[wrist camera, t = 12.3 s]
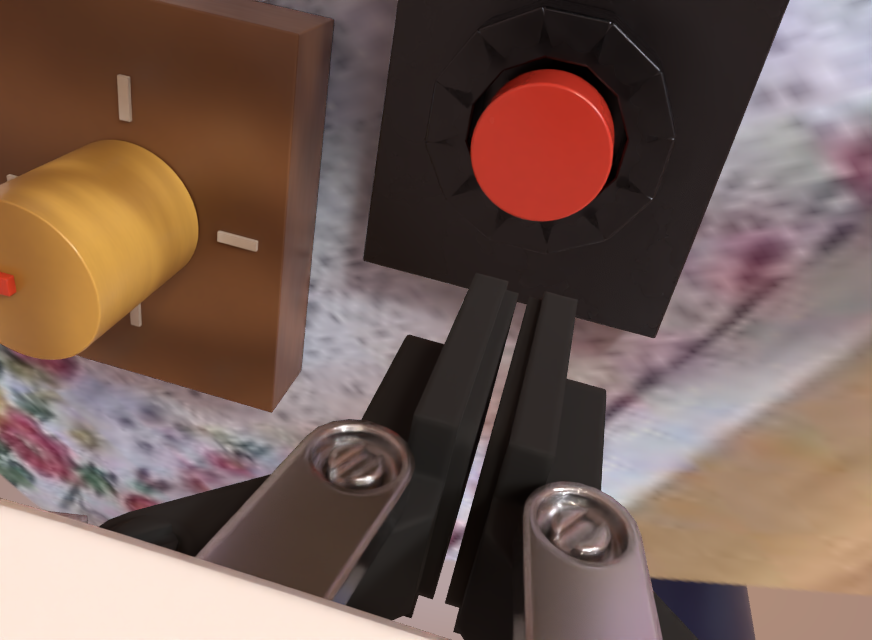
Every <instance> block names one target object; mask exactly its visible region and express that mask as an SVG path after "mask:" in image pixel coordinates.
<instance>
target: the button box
mask: <svg viewBox="0 0 872 640" xmlns="http://www.w3.org/2000/svg"><path fill="white" fill-rule="evenodd" d="M788 3H789V0H398V5H397V12H396V20H395V27H394V34H393V42H392V49H391V56H390V64H389V71H388V79H387V86H386V93H385V101H384V108H383V116H382V123H381V130H380V138H379V145H378V152H377V160H376V167H375V175H374V182H373V189H372V197H371V204H370V211H369V219H368V226H367V234H366V241H365V248H364V256H363V260H364V261H366V262H370V263H374V264H378V265H381V266H385V267H389V268H393V269H396V270H400V271H404V272H408V273H411V274H415V275H419V276H423V277H426V278H430V279H434V280H438V281H441V282H445V283H449V284H453V285H456V286H460V287H464V288H468V289H469V287H470V285H471V282H472V280H473V278H474V276H475V274H476V273H479V274H483V275H487V276H490V277H494V278H498V279H502V280H505V281H508V286H507V290H509V291H512V292H516V293H519V295H518V299H517V302H520V303H524V304H527V303H528V299H529V296H531V297H535V298H538V299H542V298H543V294H544V291H547V292H550V293H554V294H558V295H562V296H565V297H569V298H573V299H577V300H578V302H577V309H576V316H575V317H576V318H580V319H584V320H587V321H591V322H595V323H599V324H602V325H606V326H610V327H614V328H617V329H621V330H625V331H629V332H632V333H636V334H640V335H644V336H647V337H651V338H655V337H656V335H657V332H658V330H659V327H660V325H661V322H662V320H663V317H664V315H665V312H666V310H667V307H668V305H669V302H670V300H671V297H672V295H673V292H674V289H675V287H676V284H677V282H678V279H679V277H680V274H681V272H682V269H683V267H684V264H685V262H686V259H687V257H688V254H689V252H690V249H691V247H692V244H693V242H694V239H695V237H696V234H697V232H698V229H699V227H700V224H701V222H702V219H703V217H704V214H705V212H706V209H707V207H708V204H709V201H710V199H711V196H712V194H713V191H714V189H715V186H716V184H717V181H718V179H719V176H720V174H721V171H722V169H723V166H724V164H725V161H726V159H727V156H728V154H729V151H730V149H731V146H732V144H733V141H734V139H735V136H736V134H737V131H738V129H739V126H740V124H741V121H742V118H743V116H744V113H745V111H746V108H747V106H748V103H749V101H750V98H751V96H752V93H753V91H754V88H755V86H756V83H757V81H758V78H759V76H760V73H761V71H762V68H763V66H764V63H765V61H766V58H767V56H768V53H769V51H770V48H771V46H772V43H773V41H774V38H775V36H776V33H777V30H778V28H779V25H780V23H781V20H782V18H783V15H784V13H785V10H786V8H787V5H788ZM540 69H557V70H563V71H566V72H570V73H573V74H575V75H577V76H579V77H581V78H583V79H584V80H586V81H587V82H589V83H590V84H591V85H592V86H593V87H595V88H596V90H597V91H598V92H599V93H600V94H601V95H602V97H603V98H604V100H605V101H606V103H607V105H608V107H609V109H610V112H611V115H612V118H613V124H614V148H613V160H612V166H611V170H610V173H609V176H608V178H607V181H606V183H605V185H604V186H603V188H602V190H601V191H600V192H599V194H598V195H597V196H596V197H595V198H594V199H593V201H592V202H591V203H589V204H588V205H587V206H586V207H584V208H583V209H581V210H580V211H578V212H577V213H575V214H572V215H570V216H568V217H565V218H562V219H558V220H553V221H530V220H525V219H521V218H518V217H515V216H513V215H511V214H509V213H507V212H505V211H503V210H502V209H500V208H499V207H498V206H496V205H495V204H494V203H493V202H492V201H491V200H490V199H489V198H488V197H487V196H486V195H485V193H484V192H483V191H482V189H481V188H480V186H479V184H478V182H477V180H476V178H475V175H474V172H473V168H472V164H471V157H470V147H471V139H472V135H473V131H474V128H475V126H476V124H477V121H478V119H479V118H480V116H481V114H482V113H483V111H484V110H485V108H486V107H487V105H488V104H489V103H490V101H491V100H492V98H493V97H494V96H495V94H496V93H497V92H498V91H499V90H500V89H501V88H502V87H503V86H504V85H505V84H506V83H508V82H509V81H510V80H512V79H514V78H515V77H517V76H519V75H522V74H524V73H527V72H530V71H534V70H540Z"/></svg>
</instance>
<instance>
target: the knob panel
mask: <svg viewBox="0 0 872 640" xmlns="http://www.w3.org/2000/svg"><path fill="white" fill-rule="evenodd" d="M333 27H334V20H333V19H332V18H327V17H323V16H319V15H314V14H310V13H306V12H301V11H297V10H293V9H289V8H284V7H280V6H276V5H271V4H267V3H263V2H258V1H254V0H0V185H1V184H3V183H5V182H7V181H9V180H11V179H14V178H16V177H18V176H20V175H22V174H24V173H27V172H29V171H31V170H33V169H35V168H37V167H40V166H42V165H44V164H46V163H48V162H50V161H53V160H55V159H57V158H59V157H61V156H63V155H66V154H68V153H70V152H72V151H74V150H76V149H79V148H81V147H83V146H85V145H87V144H89V143H92V142H96V141H100V140H120V141H126V142H129V143H132V144H135V145H138V146H140V147H142V148H144V149H146V150H148V151H150V152H151V153H153V154H154V155H156V156H157V157H158V158H160V159H161V160H162V161H164V162H165V163H166V164H167V165H168V166H169V167H170V168H171V169H172V170H173V171H174V172H175V173H176V175H177V176H178V177H179V179H180V180H181V181H182V183H183V184H184V186H185V187H186V189H187V191H188V193H189V195H190V197H191V199H192V201H193V204H194V207H195V210H196V214H197V219H198V240H197V246H196V249H195V251H194V254H193V256H192V257H191V259H190V261H189V262H188V263H187V264H186V266H184V267H183V268H182V269H181V270H180V271H179V272H177V273H176V274H175V275H174V276H173V277H171V278H170V279H169V280H168V281H167V282H165V283H164V284H163V285H162V286H161V287H159V288H158V289H157V290H156V291H155V292H153V293H152V294H151V295H150V296H149V297H147V298H146V299H145V300H144V301H143V302H141V303H140V304H139V305H138V306H137V307H135V308H134V309H133V310H132V311H131V312H129V313H128V314H127V315H126V316H125V317H123V318H122V319H121V320H120V321H119V322H117V323H116V324H115V325H114V326H113V327H111V328H110V329H109V330H108V331H107V332H105V333H104V334H103V335H102V336H101V337H99V338H98V339H97V340H96V341H95V342H93V343H92V344H91V345H90V346H89V347H87V348H86V349H85V350H84V351H82V352H81V353H79V354H77V356H80V357H84V358H87V359H90V360H94V361H97V362H101V363H104V364H107V365H111V366H114V367H118V368H121V369H124V370H128V371H131V372H135V373H138V374H142V375H145V376H148V377H152V378H155V379H159V380H162V381H165V382H169V383H172V384H176V385H179V386H182V387H186V388H189V389H193V390H196V391H199V392H203V393H206V394H210V395H213V396H216V397H220V398H223V399H227V400H230V401H234V402H237V403H240V404H244V405H247V406H251V407H254V408H257V409H261V410H264V411H268V412H273V410H274V409H275V408H276V406H277V405H278V403H279V402H280V400H281V399H282V397H283V396H284V395H285V393H286V392H287V390H288V389H289V387H290V386H291V384H292V383H293V382H294V380H295V379H296V377H297V376H298V374H299V373H300V372H301V368H302V357H303V346H304V336H305V325H306V314H307V304H308V293H309V283H310V272H311V261H312V251H313V240H314V229H315V219H316V208H317V197H318V187H319V176H320V165H321V155H322V144H323V133H324V123H325V112H326V101H327V91H328V80H329V69H330V59H331V48H332V38H333Z"/></svg>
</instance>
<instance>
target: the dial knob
mask: <svg viewBox="0 0 872 640" xmlns="http://www.w3.org/2000/svg"><path fill="white" fill-rule="evenodd" d="M197 240H198V219H197V214H196V210H195V207H194V204H193V201H192V199H191V197H190V195H189V193H188V191H187V189H186V187H185V186H184V184H183V183H182V181H181V180H180V179H179V177H178V176H177V175H176V173H175V172H174V171H173V170H172V169H171V168H170V167H169V166H168V165H167V164H166V163H165V162H164V161H162V160H161V159H160V158H158V157H157V156H156V155H154V154H153V153H151V152H150V151H148V150H146V149H144V148H142V147H140V146H138V145H135V144H132V143H129V142H126V141H120V140H100V141H96V142H92V143H89V144H87V145H85V146H83V147H81V148H79V149H76V150H74V151H72V152H70V153H68V154H66V155H63V156H61V157H59V158H57V159H55V160H53V161H50V162H48V163H46V164H44V165H42V166H40V167H37V168H35V169H33V170H31V171H29V172H27V173H24V174H22V175H20V176H18V177H16V178H14V179H11V180H9V181H7V182H5V183H3V184H1V185H0V344H2V345H4V346H6V347H8V348H9V349H11V350H14V351H16V352H18V353H21V354H24V355H27V356H30V357H34V358H38V359H46V360H59V359H65V358H69V357H72V356H75V355H77V354H79V353H81V352H82V351H84V350H85V349H86V348H87V347H89V346H90V345H91V344H92V343H93V342H95V341H96V340H97V339H98V338H99V337H101V336H102V335H103V334H104V333H105V332H107V331H108V330H109V329H110V328H111V327H113V326H114V325H115V324H116V323H117V322H119V321H120V320H121V319H122V318H123V317H125V316H126V315H127V314H128V313H129V312H131V311H132V310H133V309H134V308H135V307H137V306H138V305H139V304H140V303H141V302H143V301H144V300H145V299H146V298H147V297H149V296H150V295H151V294H152V293H153V292H155V291H156V290H157V289H158V288H159V287H161V286H162V285H163V284H164V283H165V282H167V281H168V280H169V279H170V278H171V277H173V276H174V275H175V274H176V273H177V272H179V271H180V270H181V269H182V268H183V267H184V266H186V264H187V263H188V262H189V261H190V259H191V257H192V256H193V254H194V251H195V249H196V246H197Z"/></svg>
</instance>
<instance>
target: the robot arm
mask: <svg viewBox="0 0 872 640" xmlns="http://www.w3.org/2000/svg"><path fill="white" fill-rule="evenodd" d="M507 286H508V281H505V280H502V279H498V278H494V277H490V276H487V275H483V274H479V273H476V274H475V276H474V278H473V280H472V282H471V285H470V287H469V289H468V292H467V294H466V296H465V298H464V301H463V303H462V305H461V308H460V310H459V312H458V314H457V317H456V319H455V321H454V324H453V326H452V328H451V330H450V333H449V335H448V337H447V340H446V342H445V344H441V343H437V342H434V341H430V340H427V339H423V338H419V337H416V336H412V335H407V336H406V338H405V339H404V341H403V343H402V345H401V347H400V349H399V350H398V352H397V354H396V356H395V358H394V360H393V362H392V364H391V365H390V367H389V369H388V371H387V373H386V375H385V377H384V378H383V380H382V382H381V384H380V386H379V388H378V390H377V392H376V393H375V395H374V397H373V399H372V401H371V403H370V405H369V406H368V408H367V410H366V412H365V414H364V416H363V418H362V420H354V419H347V420H339V421H332V422H330V423H327V424H324V425H322V426H319V427H317V428H316V429H315V430H313V431H312V432H311V433H309V434H308V435H307V436H306V437H305V438H304V439H303V440H302V441H301V442H300V444H299V445H298V446H297V447H296V448H295V449H294V450H293V451H292V452H291V453H290V454H289V455H288V457H287V458H286V459H285V460H284V461H283V462H282V463H281V464H280V465H279V466H278V467H277V468H276V470H275V471H274V472H273V473H272V474H270V475H266V476H263V477H259V478H255V479H251V480H248V481H244V482H240V483H236V484H233V485H229V486H225V487H221V488H218V489H214V490H210V491H206V492H203V493H199V494H195V495H191V496H188V497H184V498H180V499H176V500H173V501H169V502H165V503H161V504H158V505H154V506H150V507H146V508H143V509H139V510H135V511H132V512H128V513H126V514H123V515H120V516H118V517H115V518H113V519H110V520H108V521H107V522H105V523H104V524H102V525H101V526H99V527H97V526H94V525H90V524H88V519H87V515H78V514H69V513H60V512H51V511H45V510H41V509H38V508H34V507H30V506H27V505H23V504H20V503H16V502H13V501H9V500H5V499H2V498H0V640H450V639H447V638H444V637H441V636H438V635H435V634H432V633H429V632H426V631H423V630H420V629H417V628H413V627H410V626H407V625H404V624H401V623H398V622H395V621H392V620H394V619H397V618H399V617H401V616H406V617H409V618H411V617H412V615H413V611H414V608H415V605H416V602H417V599H418V596H419V595H421V596H424V597H427V598H430V599H433V597H434V594H435V591H436V587H437V584H438V580H439V577H440V573H441V570H442V567H443V563H444V560H445V556H446V553H447V549H448V546H449V543H450V539H451V536H452V532H453V529H454V526H455V522H456V519H457V515H458V512H459V508H460V505H461V502H462V498H463V495H464V491H465V488H466V484H467V481H468V478H469V474H470V471H471V467H472V464H473V461H474V457H475V454H476V450H477V447H478V443H479V440H480V436H481V433H482V429H483V425H484V422H485V418H486V414H487V411H488V407H489V403H490V399H491V396H492V392H493V388H494V384H495V381H496V377H497V373H498V370H499V366H500V362H501V358H502V355H503V351H504V347H505V343H506V340H507V336H508V332H509V329H510V325H511V321H512V317H513V314H514V310H515V306H516V302H517V299H518V295H519V293H516V292H512V291H509V290H507ZM577 302H578V300H577V299H573V298H569V297H565V296H562V295H558V294H554V293H550V292H547V291H544V294H543V298H542V299H538V298H535V297H531V296H529V299H528V303H527V306H526V310H525V314H524V317H523V321H522V324H521V328H520V332H519V335H518V339H517V343H516V346H515V350H514V353H513V357H512V361H511V364H510V368H509V371H508V375H507V379H506V382H505V386H504V389H503V393H502V397H501V400H500V404H499V408H498V411H497V415H496V418H495V422H494V426H493V429H492V433H491V436H490V440H489V444H488V447H487V451H486V455H485V458H484V462H483V466H482V469H481V473H480V477H479V480H478V484H477V488H476V491H475V495H474V499H473V502H472V506H471V510H470V513H469V517H468V521H467V524H466V528H465V532H464V535H463V539H462V543H461V546H460V550H459V554H458V557H457V561H456V565H455V568H454V572H453V576H452V579H451V583H450V586H449V590H448V594H447V598H446V601H445V603H446V604H449V605H452V606H455V607H459V612H458V615H457V619H456V624H455V628H454V631H453V632H455V633H459V634H461V636H462V637H463V639H464V640H698V639H697V637H696V636H695V635H694V634H693V633H692V632H691V631H690V630H689V629H688V628H687V627H686V626H685V625H684V623H683V622H682V621H681V620H680V619H679V618H678V617H677V616H676V615H675V614H674V613H673V612H672V611H671V610H670V608H669V607H668V606H667V605H666V604H665V603H664V602H663V601H662V600H661V599H660V598H659V597H658V596H657V594H656V593H655V592H654V591H653V590H652V585H651V580H650V575H649V570H648V565H647V561H646V556H645V551H644V546H643V541H642V536H641V533H640V531H639V528H638V526H637V523H636V521H635V520H634V518H633V517H632V516H631V515H630V513H629V512H628V511H627V509H626V508H625V507H624V506H622V505H621V504H620V503H619V502H617V501H616V500H615V499H614V498H613V497H611V496H609V495H608V494H606V493H604V492H602V491H601V481H602V464H603V446H604V429H605V411H606V390H605V389H602V388H598V387H595V386H591V385H588V384H584V383H581V382H577V381H573V380H570V379H566V378H567V371H568V364H569V357H570V350H571V344H572V337H573V330H574V323H575V316H576V309H577Z"/></svg>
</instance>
